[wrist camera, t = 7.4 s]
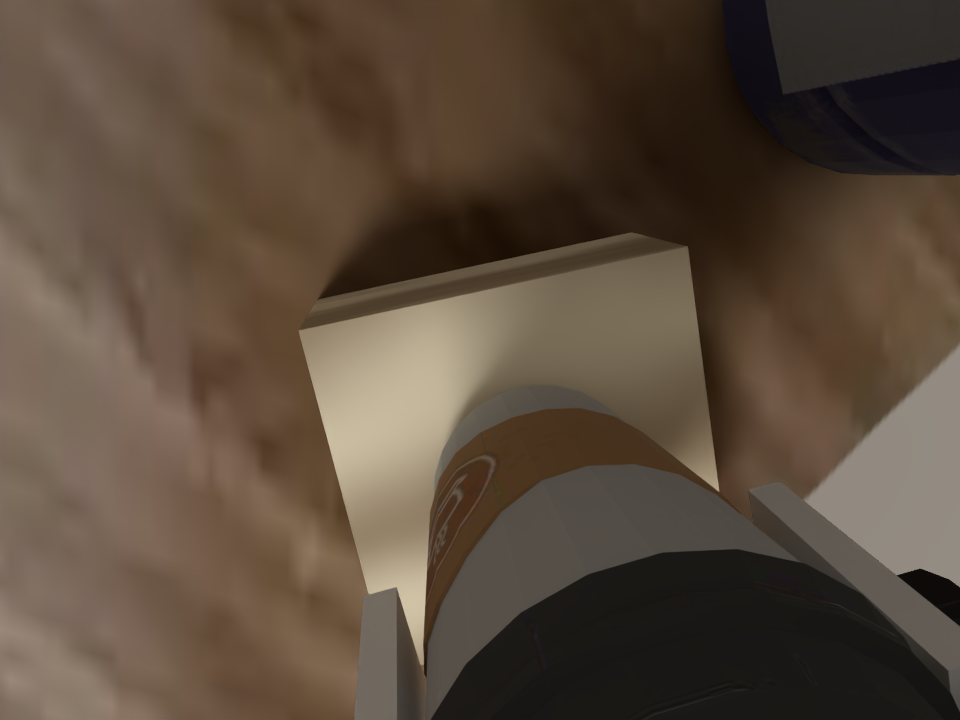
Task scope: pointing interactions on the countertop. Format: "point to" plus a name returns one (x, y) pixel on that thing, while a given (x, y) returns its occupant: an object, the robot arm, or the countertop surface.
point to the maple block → (496, 375)
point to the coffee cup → (632, 589)
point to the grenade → (853, 80)
